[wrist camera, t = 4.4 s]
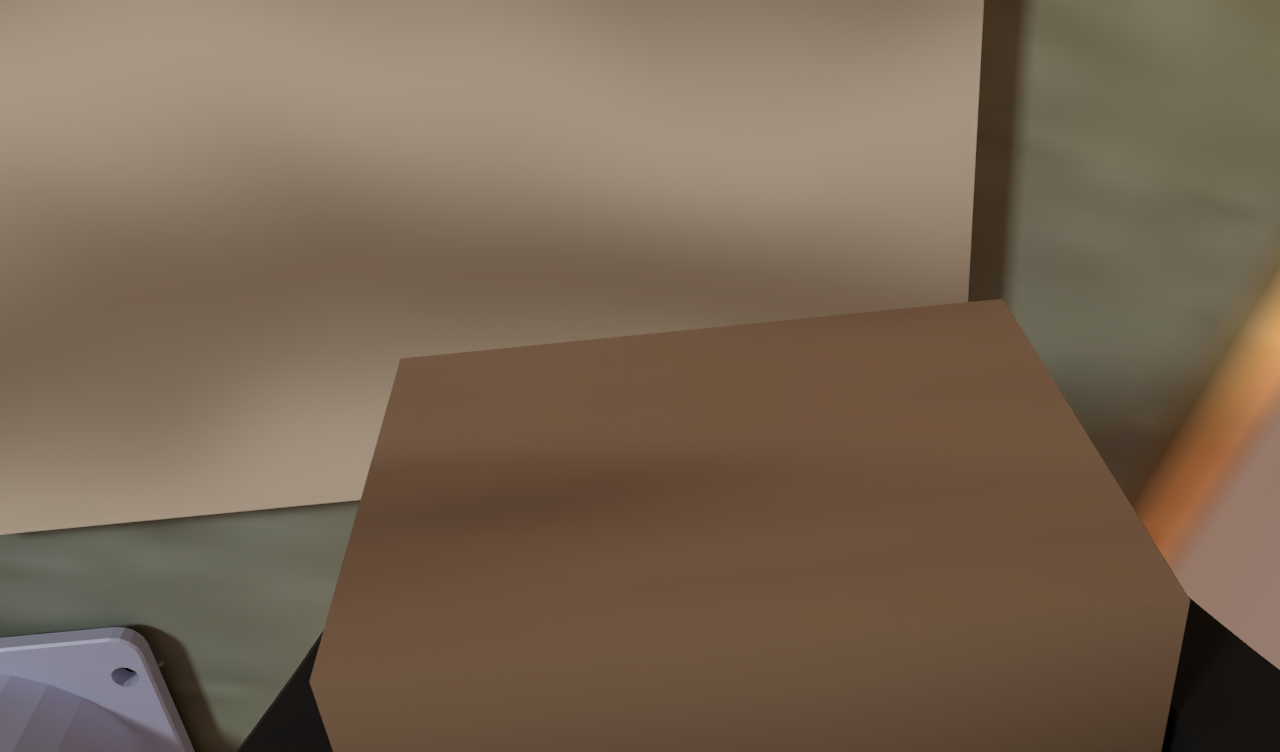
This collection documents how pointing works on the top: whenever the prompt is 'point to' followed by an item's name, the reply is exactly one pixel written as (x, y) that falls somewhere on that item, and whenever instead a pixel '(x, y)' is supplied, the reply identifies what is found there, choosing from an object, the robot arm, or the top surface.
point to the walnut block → (748, 551)
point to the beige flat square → (429, 211)
